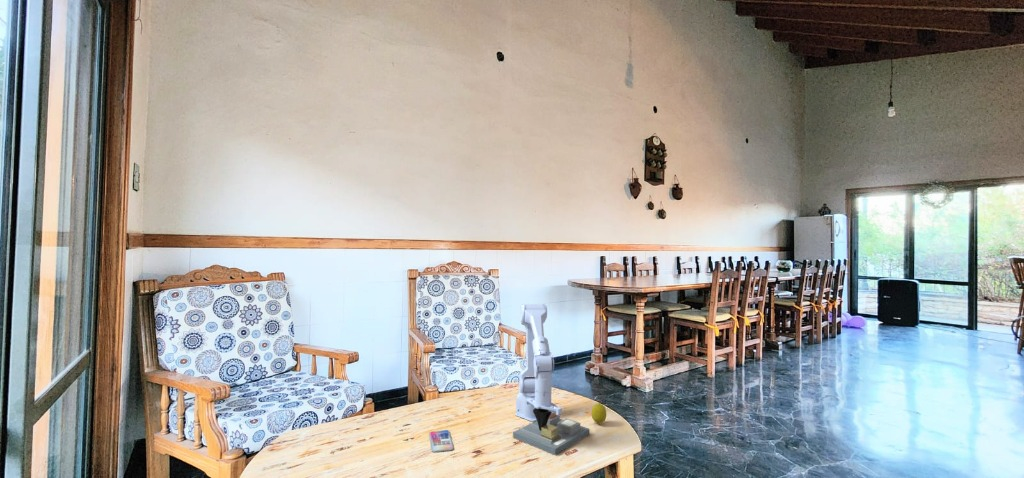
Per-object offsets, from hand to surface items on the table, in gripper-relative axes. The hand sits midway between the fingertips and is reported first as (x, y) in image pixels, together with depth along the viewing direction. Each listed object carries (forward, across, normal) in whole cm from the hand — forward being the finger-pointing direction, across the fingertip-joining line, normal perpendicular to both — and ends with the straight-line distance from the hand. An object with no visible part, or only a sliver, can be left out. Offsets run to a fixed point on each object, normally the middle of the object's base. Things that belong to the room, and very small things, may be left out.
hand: (542, 429), depth 150 cm
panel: (+4, 0, +6) cm, 7 cm away
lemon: (+4, +7, +26) cm, 27 cm away
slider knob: (+2, +3, 0) cm, 4 cm away
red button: (0, -5, +10) cm, 11 cm away
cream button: (+1, +4, +10) cm, 11 cm away
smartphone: (+4, -25, -24) cm, 35 cm away
